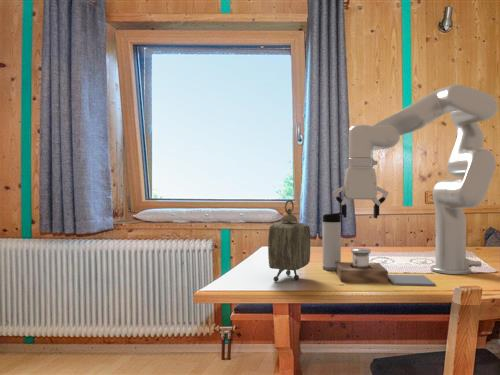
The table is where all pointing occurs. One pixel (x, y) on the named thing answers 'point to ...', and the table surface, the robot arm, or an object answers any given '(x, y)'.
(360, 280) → the brown wooden square slab
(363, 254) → the end cap
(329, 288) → the table surface
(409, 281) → the mat
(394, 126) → the robot arm
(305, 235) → the tabletop clock
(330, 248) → the travel mug
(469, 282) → the table surface
